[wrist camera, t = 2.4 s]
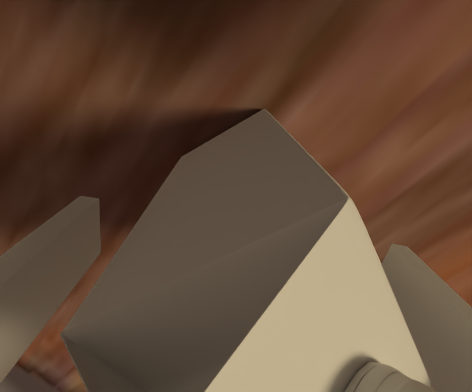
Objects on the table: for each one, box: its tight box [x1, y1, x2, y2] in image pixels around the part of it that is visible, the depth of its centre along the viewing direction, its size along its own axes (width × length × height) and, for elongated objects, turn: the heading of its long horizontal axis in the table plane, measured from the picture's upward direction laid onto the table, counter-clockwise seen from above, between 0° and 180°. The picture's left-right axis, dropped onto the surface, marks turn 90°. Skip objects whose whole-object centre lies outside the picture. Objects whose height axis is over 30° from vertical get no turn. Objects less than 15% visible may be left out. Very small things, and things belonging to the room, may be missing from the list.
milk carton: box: [60, 109, 438, 392], centre depth 12 cm, size 7×7×19 cm
